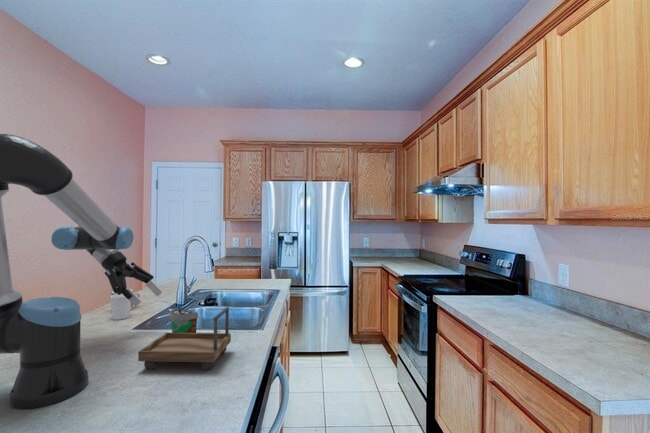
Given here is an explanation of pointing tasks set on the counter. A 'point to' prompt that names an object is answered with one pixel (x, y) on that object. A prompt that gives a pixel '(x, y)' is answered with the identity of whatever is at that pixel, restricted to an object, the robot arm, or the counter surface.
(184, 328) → the food container
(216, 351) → the dolly
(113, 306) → the white cup
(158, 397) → the counter surface
